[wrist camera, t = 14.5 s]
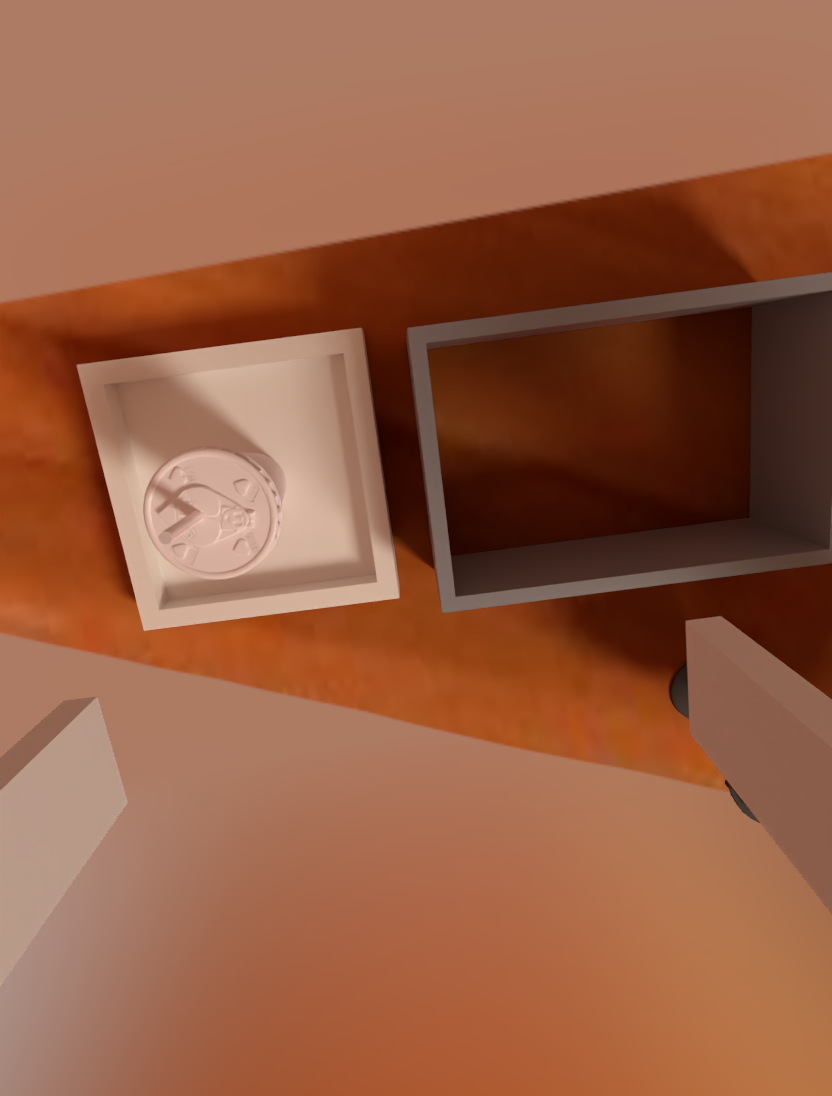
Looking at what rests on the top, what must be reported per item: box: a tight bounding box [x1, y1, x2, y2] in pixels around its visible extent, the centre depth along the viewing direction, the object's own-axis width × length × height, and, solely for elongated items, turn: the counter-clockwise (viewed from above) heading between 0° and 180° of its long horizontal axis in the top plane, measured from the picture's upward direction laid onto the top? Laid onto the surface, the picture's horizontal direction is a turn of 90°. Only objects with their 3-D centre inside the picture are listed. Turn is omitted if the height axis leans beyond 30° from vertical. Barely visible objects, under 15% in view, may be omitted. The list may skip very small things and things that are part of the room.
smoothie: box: [143, 445, 286, 580], centre depth 32 cm, size 6×6×14 cm
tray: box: [77, 328, 399, 631], centre depth 39 cm, size 16×16×3 cm
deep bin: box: [406, 272, 832, 613], centre depth 36 cm, size 22×15×8 cm
